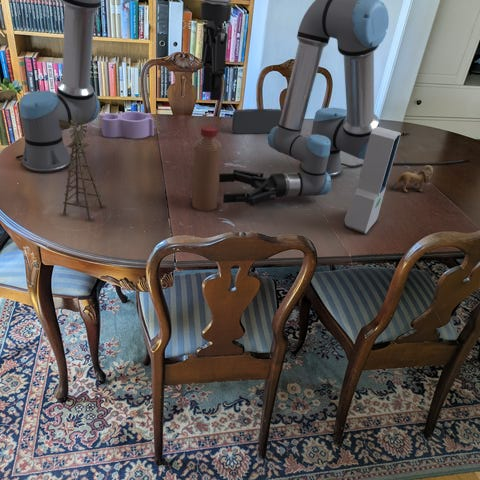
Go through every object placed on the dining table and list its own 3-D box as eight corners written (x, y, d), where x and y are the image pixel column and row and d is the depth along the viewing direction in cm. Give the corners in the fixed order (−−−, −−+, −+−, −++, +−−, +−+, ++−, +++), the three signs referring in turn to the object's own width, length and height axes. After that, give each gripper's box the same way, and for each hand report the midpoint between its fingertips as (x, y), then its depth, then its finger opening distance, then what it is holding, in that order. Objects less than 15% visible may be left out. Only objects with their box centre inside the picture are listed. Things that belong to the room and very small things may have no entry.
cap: (207, 138, 131) (207, 131, 130) (197, 133, 133) (198, 126, 132) (219, 135, 134) (220, 129, 133) (209, 130, 136) (210, 124, 135)
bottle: (202, 213, 141) (206, 136, 128) (186, 202, 146) (189, 127, 133) (222, 206, 146) (228, 131, 133) (206, 196, 151) (211, 122, 137)
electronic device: (365, 235, 139) (392, 139, 122) (341, 227, 142) (364, 132, 125) (378, 219, 148) (404, 128, 131) (355, 211, 151) (379, 121, 134)
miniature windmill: (89, 220, 131) (79, 116, 115) (61, 215, 132) (47, 111, 116) (103, 206, 139) (96, 106, 123) (77, 201, 140) (66, 101, 124)
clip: (103, 139, 182) (102, 122, 178) (101, 128, 192) (100, 111, 188) (155, 138, 188) (155, 121, 184) (150, 127, 198) (149, 111, 194)
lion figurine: (421, 184, 174) (428, 162, 169) (430, 191, 169) (438, 168, 165) (388, 187, 169) (395, 164, 164) (397, 194, 165) (404, 171, 160)
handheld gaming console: (279, 130, 209) (282, 108, 204) (281, 132, 207) (285, 110, 202) (230, 131, 202) (232, 109, 197) (232, 134, 200) (234, 111, 195)
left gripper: (191, -4, 122) (188, 85, 134) (213, 7, 106) (207, 107, 119) (219, -3, 124) (213, 85, 136) (243, 9, 109) (235, 106, 121)
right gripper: (295, 215, 141) (227, 219, 135) (269, 178, 160) (209, 180, 155) (299, 192, 136) (229, 196, 131) (272, 158, 156) (210, 159, 151)
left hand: (211, 95), depth 128 cm, fingers open, 7 cm apart
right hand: (218, 187), depth 143 cm, fingers open, 13 cm apart
